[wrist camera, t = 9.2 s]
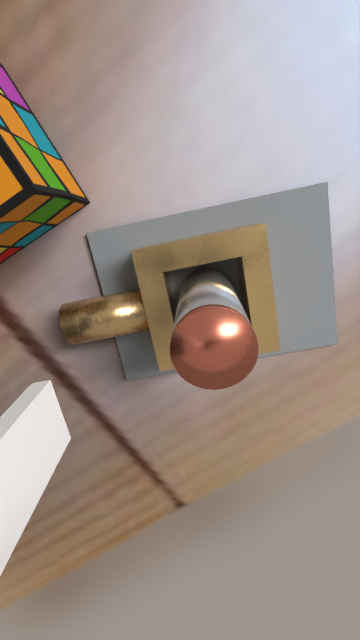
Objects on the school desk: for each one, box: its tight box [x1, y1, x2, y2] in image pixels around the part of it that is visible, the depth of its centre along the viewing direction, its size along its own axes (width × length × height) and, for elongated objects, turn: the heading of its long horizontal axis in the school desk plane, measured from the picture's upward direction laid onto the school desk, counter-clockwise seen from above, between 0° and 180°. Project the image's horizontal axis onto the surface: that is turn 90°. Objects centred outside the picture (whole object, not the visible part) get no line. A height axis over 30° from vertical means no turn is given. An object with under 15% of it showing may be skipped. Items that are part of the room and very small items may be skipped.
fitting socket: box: [59, 223, 281, 371], centre depth 26 cm, size 17×10×4 cm, turn 101°
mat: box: [86, 182, 338, 381], centre depth 28 cm, size 20×14×1 cm
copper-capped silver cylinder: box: [170, 267, 259, 389], centre depth 22 cm, size 5×5×12 cm
